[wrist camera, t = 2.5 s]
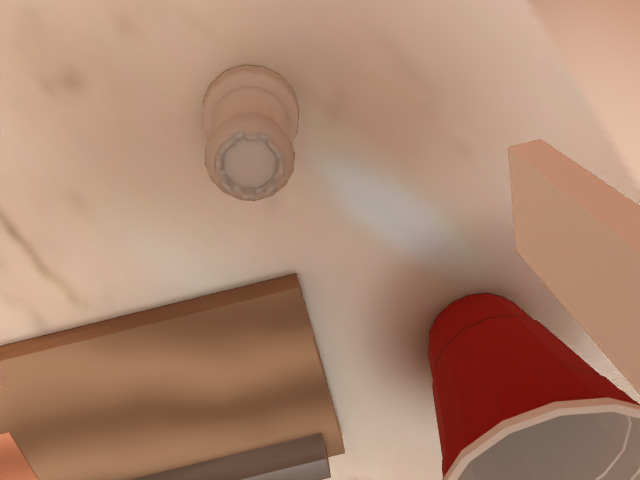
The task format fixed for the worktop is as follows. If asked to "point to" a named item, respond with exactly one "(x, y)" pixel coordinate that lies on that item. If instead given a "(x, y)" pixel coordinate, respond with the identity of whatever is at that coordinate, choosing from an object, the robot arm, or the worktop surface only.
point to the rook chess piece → (250, 132)
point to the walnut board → (174, 394)
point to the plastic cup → (524, 401)
